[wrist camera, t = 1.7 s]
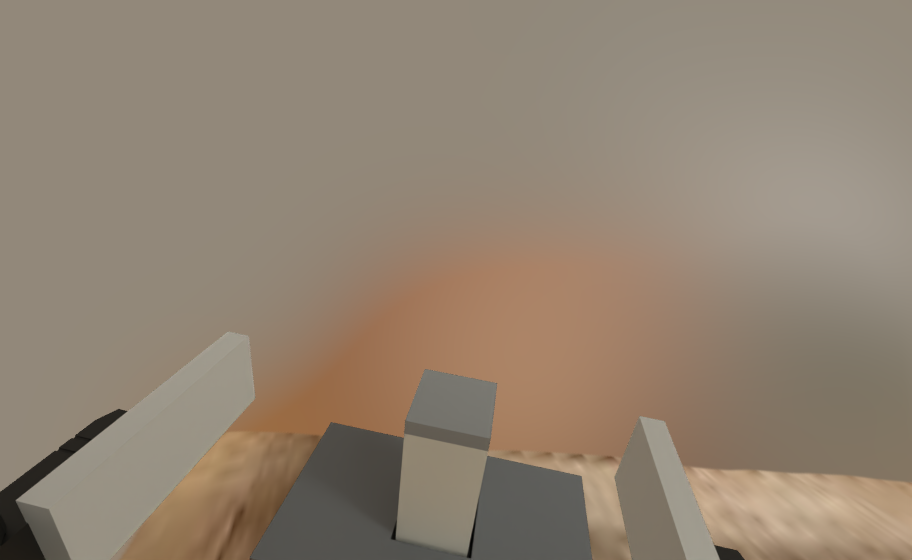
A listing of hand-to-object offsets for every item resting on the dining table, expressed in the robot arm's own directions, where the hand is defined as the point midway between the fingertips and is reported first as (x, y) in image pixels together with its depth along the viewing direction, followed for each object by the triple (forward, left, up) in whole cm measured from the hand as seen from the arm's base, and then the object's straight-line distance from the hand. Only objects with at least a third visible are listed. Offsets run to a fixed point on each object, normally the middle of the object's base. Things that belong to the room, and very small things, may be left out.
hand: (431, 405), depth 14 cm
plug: (+8, -5, -22) cm, 24 cm away
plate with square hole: (+8, -5, -23) cm, 25 cm away
